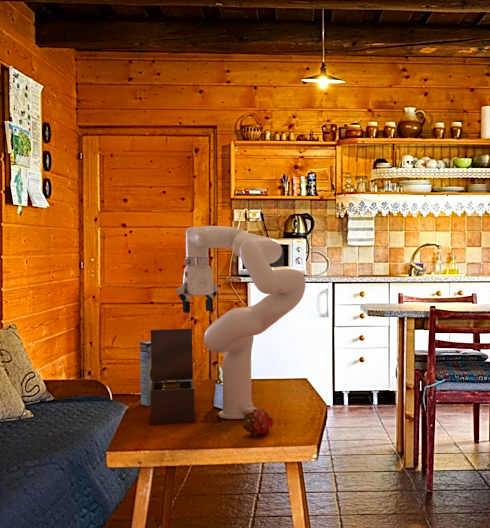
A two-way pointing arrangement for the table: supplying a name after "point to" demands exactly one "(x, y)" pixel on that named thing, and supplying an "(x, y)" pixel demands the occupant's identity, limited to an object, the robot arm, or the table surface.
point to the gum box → (146, 373)
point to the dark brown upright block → (171, 354)
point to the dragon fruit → (258, 422)
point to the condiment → (170, 384)
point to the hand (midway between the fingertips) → (198, 311)
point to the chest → (172, 403)
